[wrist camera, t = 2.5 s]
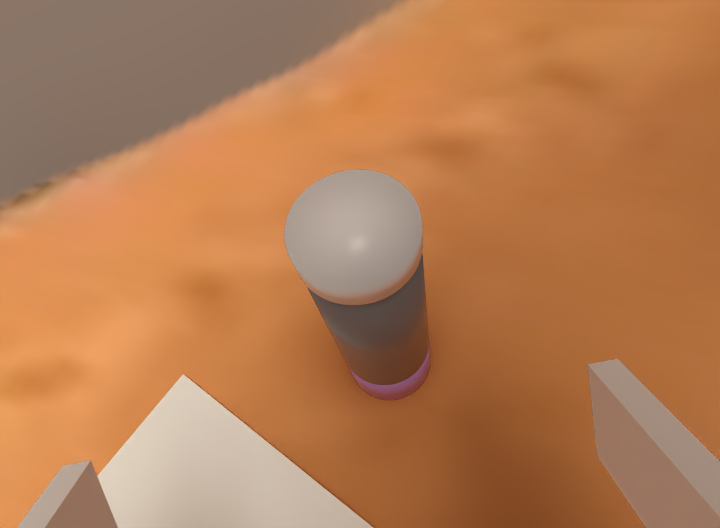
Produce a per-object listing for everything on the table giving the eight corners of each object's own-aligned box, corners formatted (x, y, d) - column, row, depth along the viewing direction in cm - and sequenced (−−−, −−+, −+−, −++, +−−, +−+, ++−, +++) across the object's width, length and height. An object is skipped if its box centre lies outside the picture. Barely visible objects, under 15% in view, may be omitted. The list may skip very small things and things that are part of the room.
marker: (380, 307, 27) (339, 149, 17) (447, 349, 26) (449, 207, 15) (333, 370, 26) (256, 245, 16) (400, 418, 25) (367, 316, 14)
